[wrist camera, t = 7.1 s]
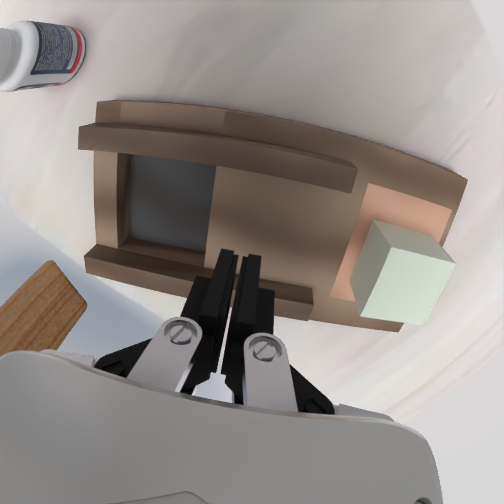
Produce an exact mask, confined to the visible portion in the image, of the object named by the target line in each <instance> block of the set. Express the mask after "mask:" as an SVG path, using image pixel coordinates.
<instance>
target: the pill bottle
mask: <svg viewBox="0 0 504 504" xmlns="http://www.w3.org/2000/svg"><path fill="white" fill-rule="evenodd" d="M84 53H85V42H84V38H83V36H82V34H81V33H80V32H79V31H78V30H77V29H75V28H73V27H68V26H62V25H56V24H49V23H42V22H33V21H19V22H16V23H14V24H12V25H10V26H9V27H8V28H7V29H4V28H1V29H0V91H3V92H10V91H18V90H25V89H32V88H41V87H50V86H57V85H61V84H63V83H65V82H67V81H68V80H69V79H71V78H72V77H73V76H74V74H75V73H76V72H77V71H78V69H79V67H80V65H81V63H82V61H83V58H84Z"/></svg>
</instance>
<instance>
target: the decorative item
mask: <svg viewBox="0 0 504 504" xmlns="http://www.w3.org/2000/svg"><path fill="white" fill-rule="evenodd" d="M86 308H87V303H86V301H85V300H84V299H83V298H82V296H81V295H80V294H79V293H78V291H77V290H76V289H75V288H74V286H73V285H72V284H71V283H70V281H69V280H68V279H67V278H66V276H65V275H64V274H63V272H61V270H60V269H59V267H58V266H57V265H56V263H55V262H54V261H52V260H51V261H48V262H46V263H45V264H44V265H43V266H42V267H40V268H39V269H38V270H37V271H36V272H35V273H34V274H33V275H32V276H31V277H30V278H29V279H28V280H27V281H26V282H25V283H24V284H23V285H22V286H21V287H20V288H19V289H18V290H17V291H16V292H15V293H14V294H13V295H12V296H11V297H10V298H9V299H8V300H7V301H6V302H5V303H4V304H3V305H2V306H1V307H0V357H1V356H3V355H4V354H6V353H9V352H13V351H21V350H24V351H38V352H40V351H42V350H45V349H51V350H57V349H58V348H59V346H60V345H61V343H62V342H63V340H64V339H65V338H66V336H67V335H68V333H69V332H70V331H71V329H72V328H73V327H74V325H75V324H76V322H77V321H78V320H79V318H80V317H81V316H82V314H83V313H84V312H85V310H86Z"/></svg>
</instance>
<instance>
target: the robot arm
mask: <svg viewBox="0 0 504 504" xmlns="http://www.w3.org/2000/svg"><path fill="white" fill-rule="evenodd" d="M238 257H239V255H235V254H234V251H233V250H228V249H223V248H221V250H220V253H219V256H218V259H217V263H216V266H215V269H214V272H213V275H212V278H208V277H203V276H198V275H197V276H196V278H195V280H194V282H193V285H192V287H191V290H190V293H189V295H188V298H187V300H186V303H185V305H184V308H183V311H182V313H181V316H180V317H174V318H170V319H168V320H166V321H165V322H164V323H163V324H162V325H161V326H160V328H159V329H158V331H157V332H156V334H155V335H154V337H153V338H151V339H149V340H146V341H143V342H141V343H138V344H135V345H133V346H130V347H127V348H124V349H122V350H119V351H116V352H113V353H110V354H108V355H105V356H103V357H102V358H100V359H95V358H94V356H93V355H85V354H78V353H71V352H64V351H57V350H51V349H45V350H42V351H40V352H38V351H24V350H21V351H13V352H9V353H6V354H4V355H3V356H1V357H0V504H443V500H442V492H441V486H440V481H439V476H438V471H437V467H436V463H435V459H434V456H433V454H432V451H431V448H430V446H429V444H428V442H427V440H426V439H425V438H424V437H423V436H422V435H421V434H420V433H419V432H417V431H416V430H414V429H412V428H410V427H408V426H405V425H402V424H400V423H397V422H394V420H393V419H392V418H390V417H389V416H387V415H384V414H380V413H376V412H371V411H367V410H363V409H359V408H355V407H351V406H347V405H343V404H339V405H338V406H336V405H333V404H332V403H331V401H330V400H329V399H328V398H327V397H326V396H325V395H323V394H322V393H321V392H320V391H319V390H318V389H317V388H316V387H314V386H313V385H312V384H311V383H310V382H309V381H308V380H307V379H306V378H304V377H303V376H302V375H301V374H300V373H299V372H298V371H297V370H296V369H295V368H293V367H292V366H291V365H290V364H289V360H288V354H287V349H286V347H285V344H284V343H283V342H282V341H281V340H280V339H279V338H278V337H276V336H274V335H273V326H274V301H275V291H274V290H271V289H265V288H260V287H259V277H260V268H261V258H262V256H259V255H254V254H249V255H248V257H246V256H243V258H242V263H241V268H240V273H239V278H238V283H237V288H236V293H235V298H234V302H233V307H232V312H231V318H230V323H229V328H228V334H227V340H226V345H225V351H224V357H223V363H222V369H221V374H224V375H226V379H225V384H226V385H227V386H228V387H229V388H230V389H231V390H232V403H228V402H222V401H217V400H212V399H207V398H202V397H197V396H195V393H196V391H197V388H198V384H200V383H202V382H204V381H206V380H208V379H209V378H210V373H211V372H213V373H216V371H217V366H218V361H219V357H220V352H221V347H222V342H223V337H224V333H225V328H226V323H227V318H228V314H229V309H230V303H231V297H232V292H233V286H234V280H235V274H236V268H237V263H238Z"/></svg>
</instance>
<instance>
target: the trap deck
mask: <svg viewBox="0 0 504 504" xmlns="http://www.w3.org/2000/svg"><path fill="white" fill-rule="evenodd" d="M78 149H80V150H93V151H94V211H95V229H96V242H97V244H96V245H95V246H94V247H93V248H92V249H91V250H90V251H89V252H88V253H87V254H86V255H85V256H84V260H85V268H86V273H89V274H92V275H96V276H100V277H103V278H107V279H111V280H115V281H119V282H123V283H126V284H130V285H134V286H138V287H142V288H147V289H151V290H155V291H159V292H163V293H168V294H172V295H176V296H181V297H185V298H188V295H189V293H190V290H191V287H192V285H193V282H194V280H195V278H196V276H197V275H198V276H203V277H208V278H212V275H213V272H214V269H215V266H216V263H217V259H218V256H219V253H220V250H221V248H223V249H228V250H233V251H234V254H235V255H239V257H238V263H237V268H236V274H235V280H234V286H233V292H232V297H231V303H230V307H233V302H234V298H235V293H236V288H237V283H238V278H239V273H240V268H241V263H242V258H243V256H246V257H248V255H249V254H254V255H259V256H262V258H261V268H260V277H259V287H260V288H265V289H271V290H274V291H275V301H274V315H275V316H280V317H286V318H292V319H298V320H304V321H308V320H314V321H320V322H327V323H333V324H340V325H347V326H354V327H361V328H368V329H376V330H384V331H392V332H399V330H400V329H401V327H402V325H403V324H404V323H402V322H395V321H388V320H381V319H374V318H368V317H361V316H360V314H359V311H358V307H357V304H356V301H355V297H354V294H353V291H352V288H351V284H350V278H351V276H352V273H353V271H354V268H355V266H356V263H357V261H358V258H359V255H360V253H361V250H362V248H363V245H364V242H365V239H366V237H367V234H368V231H369V228H370V226H371V223H372V220H373V219H374V220H378V221H382V222H386V223H389V224H393V225H397V226H400V227H404V228H407V229H411V230H415V231H418V232H421V233H425V234H428V235H432V236H433V238H434V239H435V240H436V241H437V242H438V243H439V244H440V245H441V247H443V244H444V242H445V240H446V237H447V235H448V232H449V230H450V228H451V225H452V223H453V220H454V218H455V215H456V212H457V210H458V207H459V204H460V201H461V199H462V196H463V193H464V190H465V187H466V184H467V181H468V180H467V179H466V178H464V177H462V176H460V175H458V174H457V173H455V172H453V171H451V170H449V169H446V168H444V167H441V166H439V165H437V164H434V163H431V162H429V161H426V160H424V159H421V158H418V157H416V156H413V155H410V154H408V153H405V152H402V151H399V150H396V149H393V148H390V147H387V146H384V145H381V144H378V143H375V142H372V141H368V140H365V139H362V138H358V137H355V136H352V135H348V134H344V133H341V132H337V131H333V130H330V129H326V128H322V127H318V126H314V125H309V124H305V123H301V122H296V121H292V120H287V119H282V118H277V117H272V116H267V115H261V114H256V113H250V112H244V111H237V110H231V109H224V108H217V107H209V106H200V105H191V104H181V103H169V102H154V101H134V100H109V101H100V102H97V108H96V121H95V123H92V124H88V125H84V126H80V127H79V138H78Z"/></svg>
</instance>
